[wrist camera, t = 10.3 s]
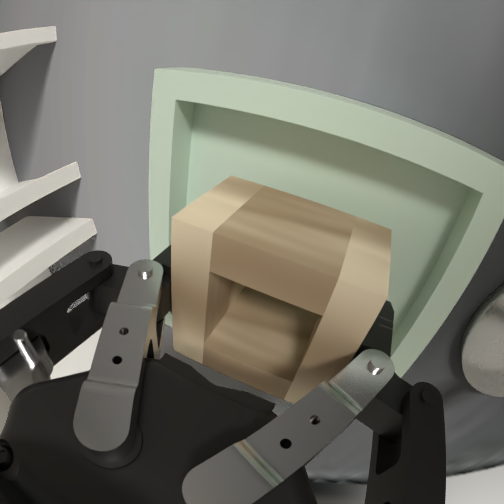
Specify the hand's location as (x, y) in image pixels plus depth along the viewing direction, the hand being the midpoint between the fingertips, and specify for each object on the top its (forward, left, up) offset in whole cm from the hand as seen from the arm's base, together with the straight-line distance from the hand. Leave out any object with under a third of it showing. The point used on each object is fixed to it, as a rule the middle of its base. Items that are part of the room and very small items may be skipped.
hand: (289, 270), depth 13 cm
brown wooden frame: (0, 0, 0) cm, 0 cm away
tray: (0, 0, -2) cm, 2 cm away
